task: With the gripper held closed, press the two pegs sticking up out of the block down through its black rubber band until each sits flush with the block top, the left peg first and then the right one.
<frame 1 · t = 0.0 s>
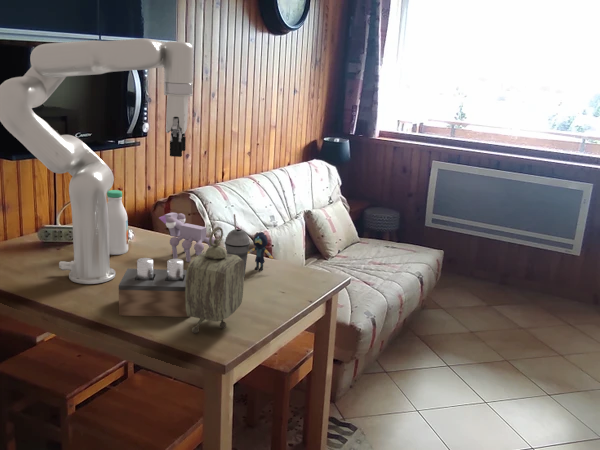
hand: (177, 153, 167), 37 cm above the table, tool pointing down, fingers open, 9 cm apart
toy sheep: (183, 256, 197), on the table
right peg: (175, 275, 155), point 9 cm above the table, slide at 4.5 cm
peg block: (158, 306, 157), on the table
milk bottle: (115, 252, 196), on the table
left peg: (145, 274, 154), point 9 cm above the table, slide at 4.5 cm
character figure: (259, 269, 189), on the table
tabletop clock: (215, 327, 148), on the table
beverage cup: (236, 281, 178), on the table
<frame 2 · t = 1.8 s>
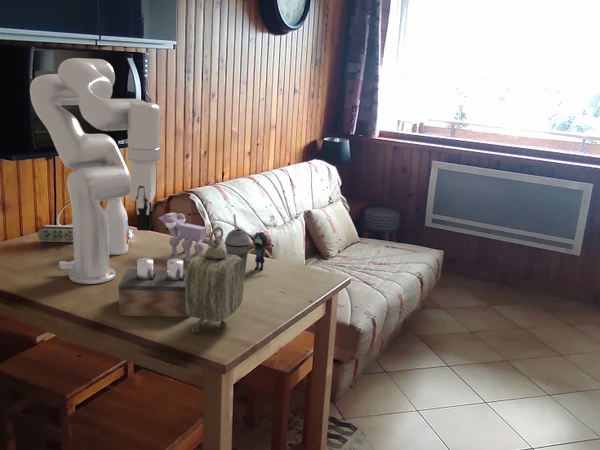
hand: (144, 227, 151), 21 cm above the table, tool pointing down, fingers open, 3 cm apart
nothing on the table moved.
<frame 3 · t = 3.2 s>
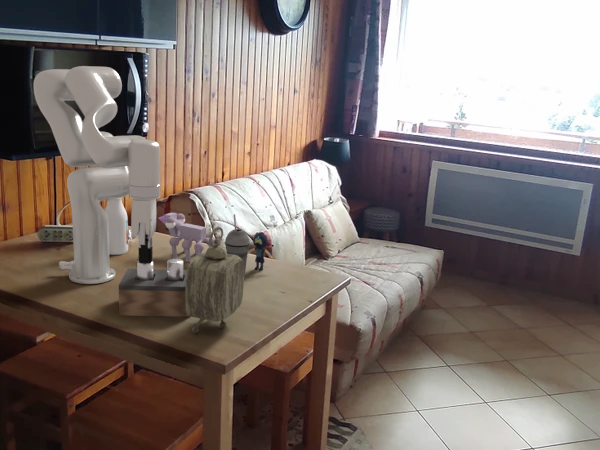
hand: (145, 262, 153), 12 cm above the table, tool pointing down, fingers closed
left peg: (145, 276, 155), point 8 cm above the table, slide at 4.1 cm, touching gripper
everything else where it was.
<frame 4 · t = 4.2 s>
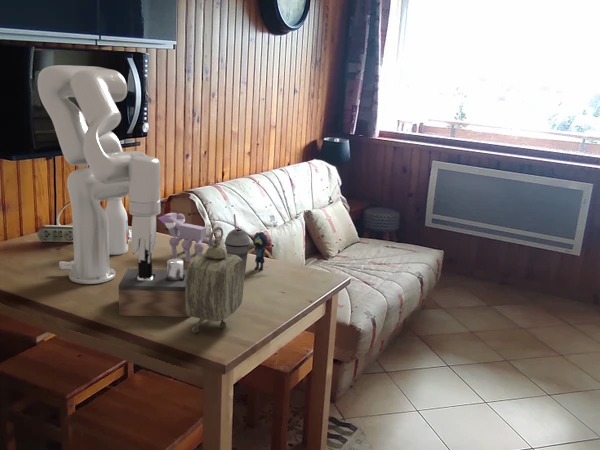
hand: (145, 276, 155), 8 cm above the table, tool pointing down, fingers closed
left peg: (145, 290, 156), point 4 cm above the table, slide at 0.1 cm, touching gripper
everything else where it was.
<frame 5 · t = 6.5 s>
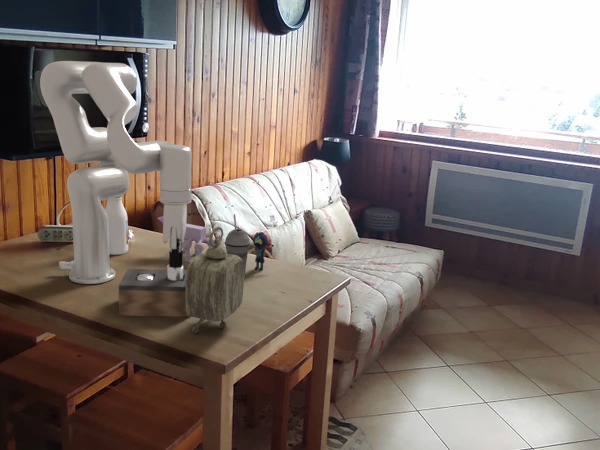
hand: (176, 265, 154), 11 cm above the table, tool pointing down, fingers closed
right peg: (175, 280, 156), point 7 cm above the table, slide at 3.3 cm, touching gripper
left peg: (145, 290, 156), point 4 cm above the table, slide at 0.1 cm
everything else where it was.
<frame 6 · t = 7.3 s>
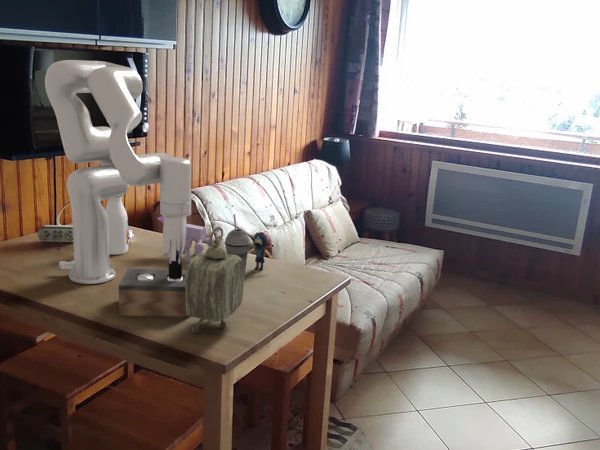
hand: (175, 277, 155), 8 cm above the table, tool pointing down, fingers closed
right peg: (175, 291, 156), point 4 cm above the table, slide at 0.1 cm, touching gripper
everything else where it was.
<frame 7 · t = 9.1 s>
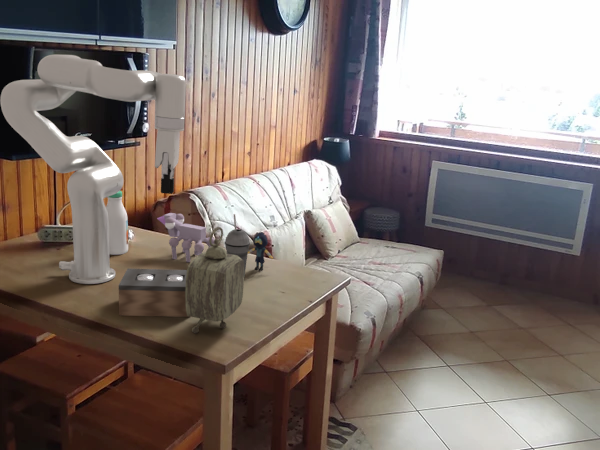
hand: (167, 192, 161), 27 cm above the table, tool pointing down, fingers closed
right peg: (175, 291, 156), point 4 cm above the table, slide at 0.1 cm
everything else where it was.
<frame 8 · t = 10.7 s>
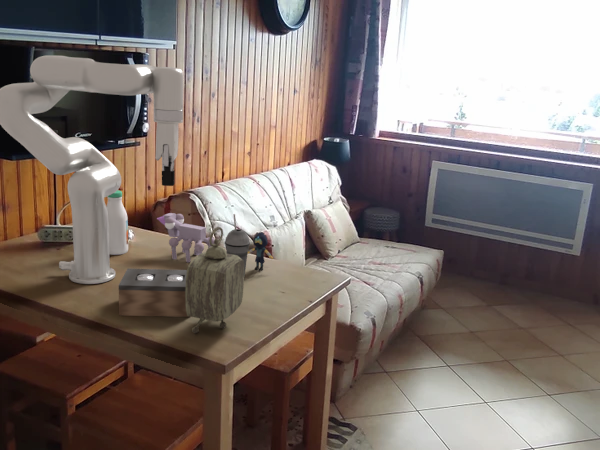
hand: (168, 185, 163), 29 cm above the table, tool pointing down, fingers closed
nothing on the table moved.
at the end: left peg slide at 0.1 cm; right peg slide at 0.1 cm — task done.
